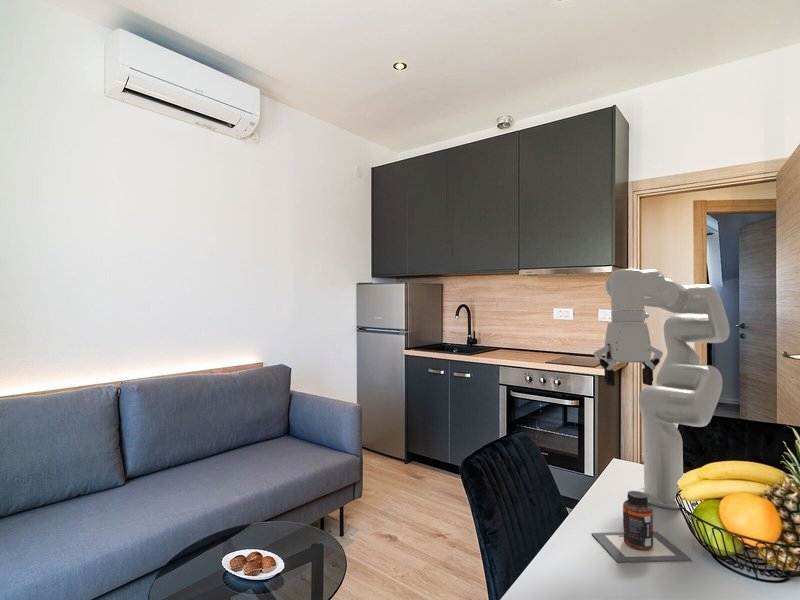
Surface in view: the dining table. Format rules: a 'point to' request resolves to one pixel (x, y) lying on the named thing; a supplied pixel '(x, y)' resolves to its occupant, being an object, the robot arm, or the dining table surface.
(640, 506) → the supplement bottle
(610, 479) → the dining table surface
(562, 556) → the dining table surface
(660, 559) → the mat
